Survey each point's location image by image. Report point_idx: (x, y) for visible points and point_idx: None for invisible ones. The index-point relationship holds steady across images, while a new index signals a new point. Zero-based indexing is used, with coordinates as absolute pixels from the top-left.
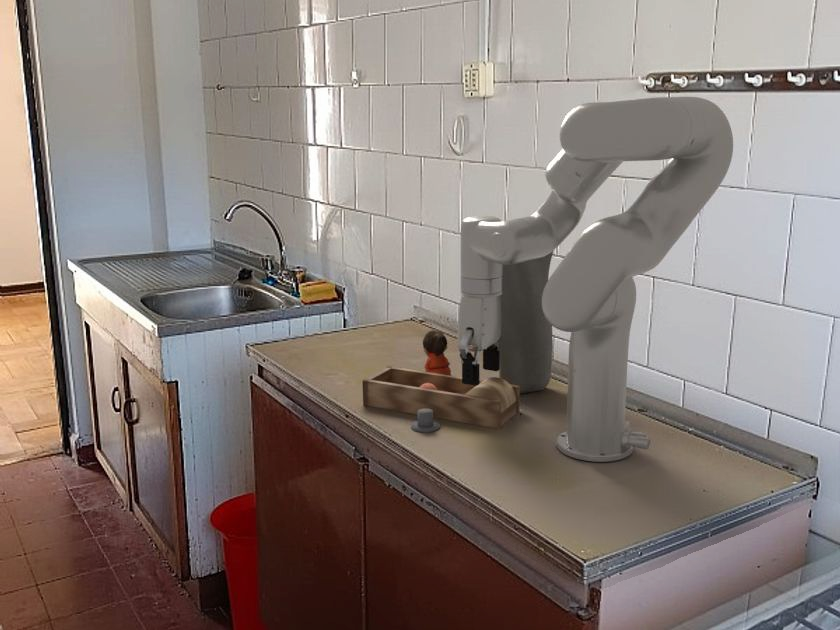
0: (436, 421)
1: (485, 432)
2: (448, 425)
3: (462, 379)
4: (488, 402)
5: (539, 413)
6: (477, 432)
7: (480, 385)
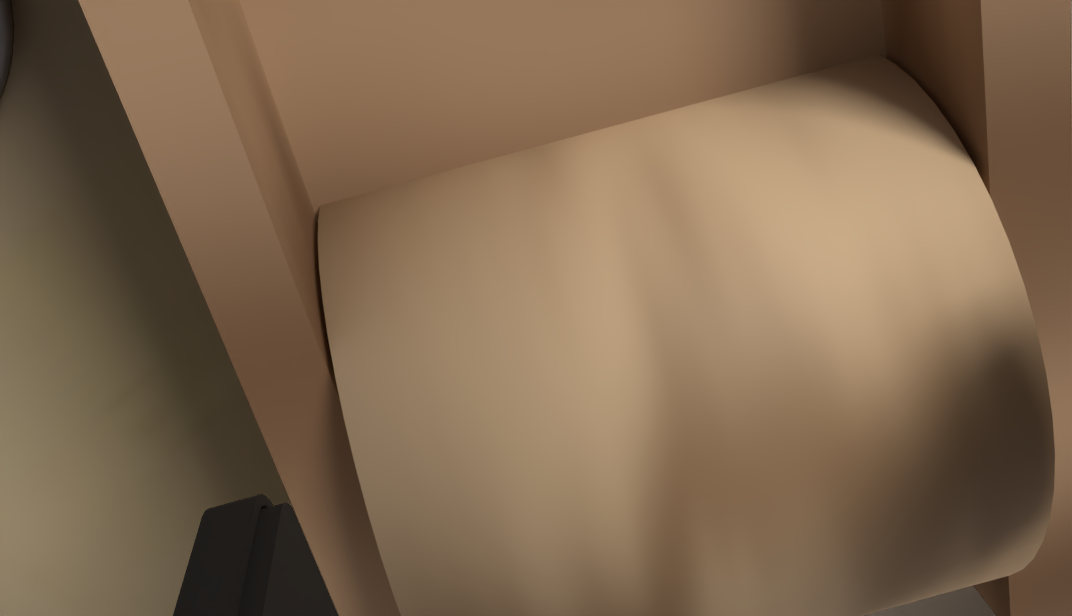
0: (5, 31)
1: None
2: (95, 175)
3: (199, 549)
4: None
5: None
6: (196, 504)
7: (592, 502)
